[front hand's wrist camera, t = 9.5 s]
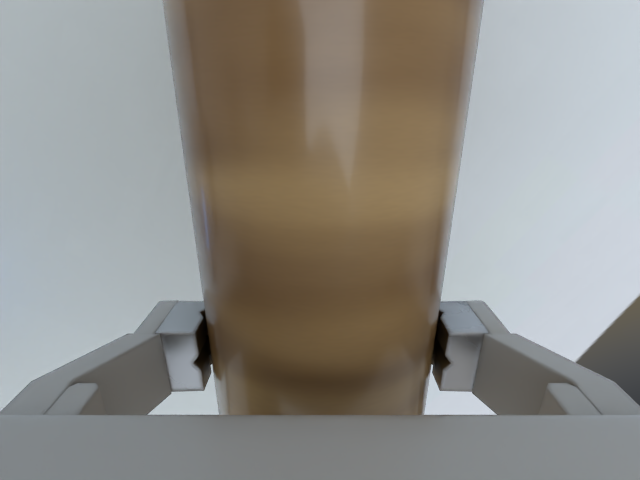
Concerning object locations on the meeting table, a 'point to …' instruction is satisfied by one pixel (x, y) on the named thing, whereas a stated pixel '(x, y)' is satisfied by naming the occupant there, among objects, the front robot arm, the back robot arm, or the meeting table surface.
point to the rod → (322, 192)
